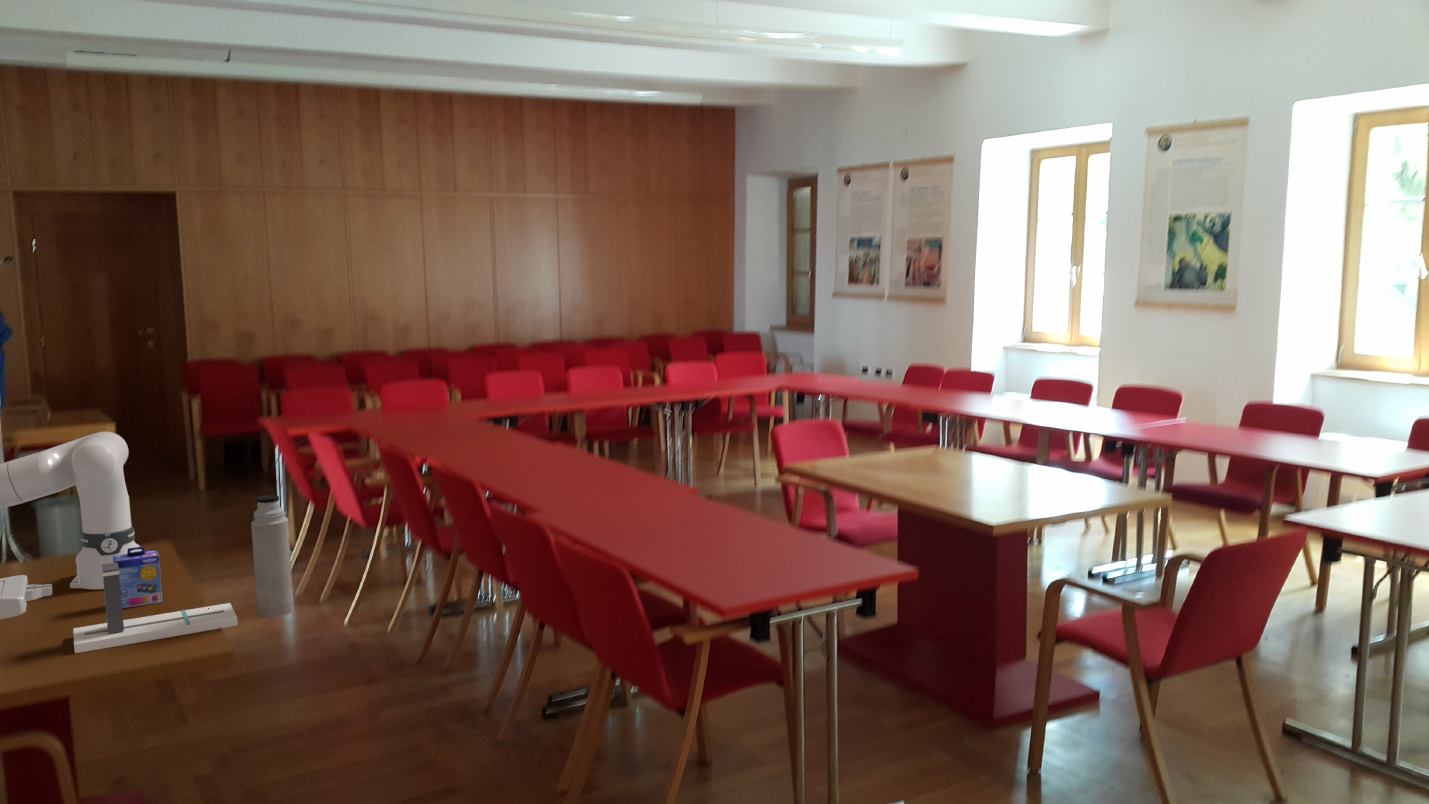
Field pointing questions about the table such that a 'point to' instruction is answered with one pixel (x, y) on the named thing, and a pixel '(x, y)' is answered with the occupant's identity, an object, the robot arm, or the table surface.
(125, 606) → the ink cartridge box
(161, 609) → the table surface
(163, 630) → the fader board
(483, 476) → the table surface
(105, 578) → the fader knob
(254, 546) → the thermos bottle
